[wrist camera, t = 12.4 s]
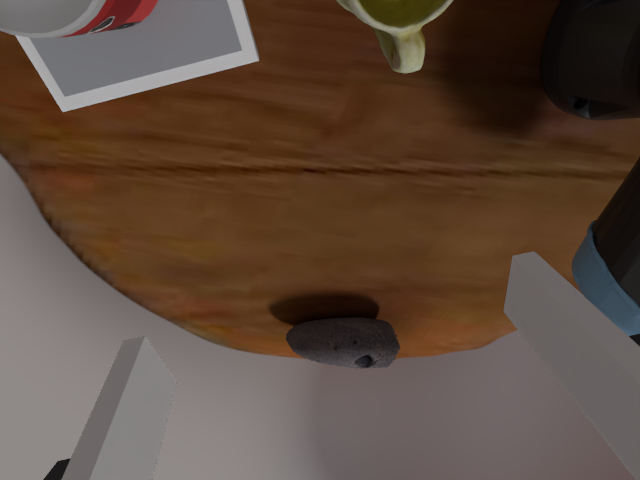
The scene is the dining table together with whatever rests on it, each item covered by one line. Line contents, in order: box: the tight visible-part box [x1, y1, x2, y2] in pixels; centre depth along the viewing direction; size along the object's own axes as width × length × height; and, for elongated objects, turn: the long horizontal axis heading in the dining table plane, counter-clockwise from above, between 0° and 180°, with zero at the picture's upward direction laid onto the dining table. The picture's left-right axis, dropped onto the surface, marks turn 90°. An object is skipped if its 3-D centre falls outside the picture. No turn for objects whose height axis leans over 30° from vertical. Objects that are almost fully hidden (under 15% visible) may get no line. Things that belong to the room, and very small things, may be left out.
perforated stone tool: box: [286, 317, 400, 368], centre depth 48 cm, size 15×5×7 cm, turn 80°
